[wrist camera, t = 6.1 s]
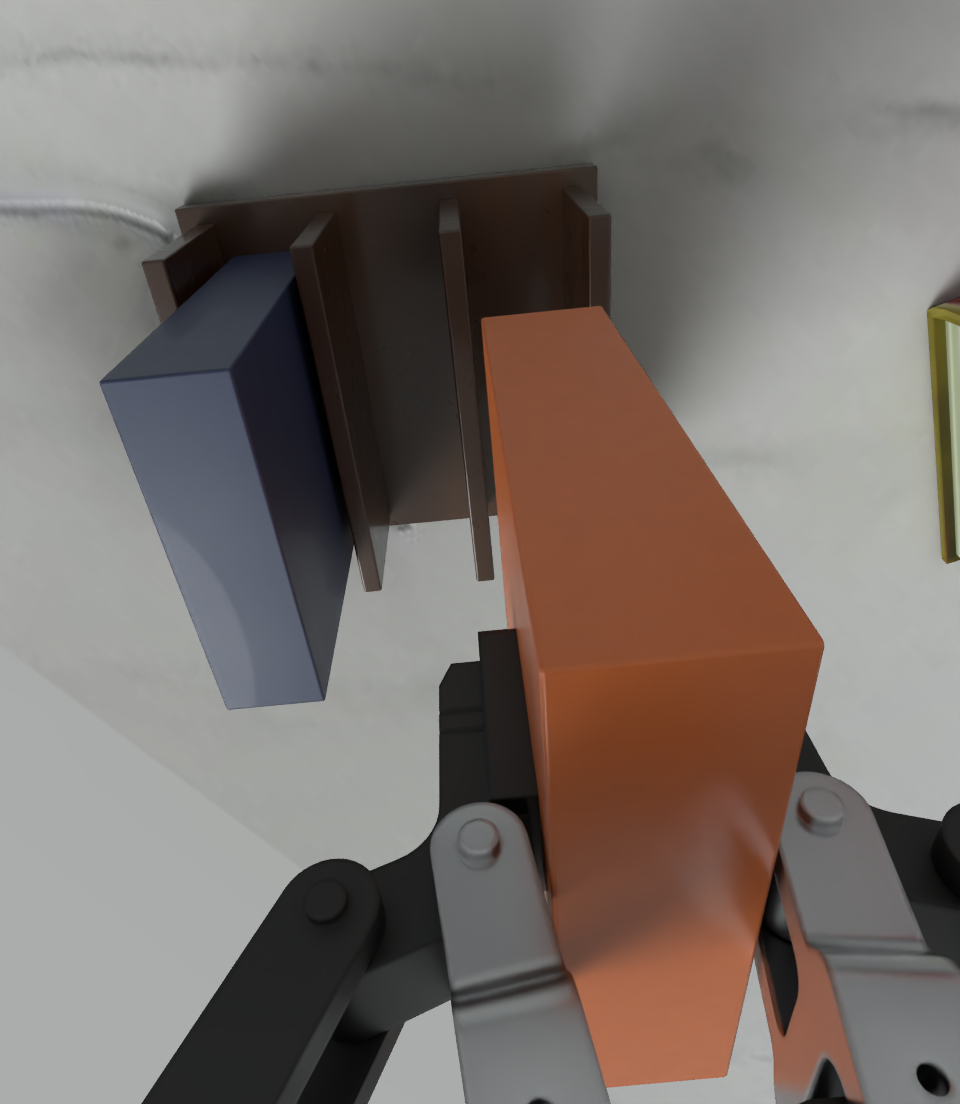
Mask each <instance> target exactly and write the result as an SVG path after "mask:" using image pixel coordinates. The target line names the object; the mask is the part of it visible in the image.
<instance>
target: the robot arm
mask: <svg viewBox="0 0 960 1104" xmlns="http://www.w3.org/2000/svg"><path fill="white" fill-rule="evenodd" d="M478 641H479V655H480V661H475V662H464V663H454V664H451V665H450V667H449V669H448V670H447V672H446V674H445V676H444V678H443V680H442V682H441V684H440V685H439V711H440V715H439V730H440V734H439V815H438V818H437V822H436V824H435V826H434V828H433V830H432V832H431V833H430V835H429V836H428V837H427V839H426V840H425V841H424V842H423V843H422V844H421V845H420V846H419V847H418V848H416V849H415V850H414V851H412V852H411V853H409V854H408V855H406V856H404V857H402V858H400V859H397V860H395V861H393V862H390V863H388V864H385V865H383V866H381V867H378V868H376V869H373V870H371V871H369V870H368V869H367V868H365V867H364V866H363V865H361V864H359V863H357V862H355V861H351V860H348V859H329V860H325V861H321V862H319V863H316V864H314V865H312V866H310V867H308V868H306V869H304V870H303V871H302V872H300V873H299V874H298V875H297V876H296V877H295V878H294V879H293V880H292V881H291V882H290V883H289V884H288V885H287V887H286V888H285V889H284V891H283V892H282V894H281V895H280V897H279V898H278V900H277V901H276V903H275V904H274V906H273V907H272V909H271V910H270V912H269V913H268V915H267V916H266V918H265V919H264V921H263V922H262V924H261V925H260V927H259V929H258V930H257V931H256V933H255V934H254V936H253V937H252V939H251V940H250V942H249V943H248V945H247V947H246V948H245V949H244V951H243V952H242V954H241V955H240V957H239V958H238V960H237V961H236V963H235V964H234V966H233V967H232V969H231V970H230V972H229V973H228V975H227V976H226V978H225V979H224V981H223V982H222V984H221V985H220V987H219V988H218V990H217V991H216V993H215V994H214V996H213V998H212V999H211V1000H210V1002H209V1003H208V1005H207V1006H206V1008H205V1009H204V1011H203V1012H202V1014H201V1015H200V1017H199V1018H198V1020H197V1021H196V1023H195V1024H194V1026H193V1027H192V1029H191V1030H190V1032H189V1033H188V1035H187V1036H186V1038H185V1039H184V1041H183V1042H182V1044H181V1045H180V1047H179V1048H178V1050H177V1051H176V1053H175V1054H174V1056H173V1057H172V1059H171V1060H170V1062H169V1063H168V1065H167V1066H166V1068H165V1069H164V1071H163V1072H162V1074H161V1075H160V1077H159V1078H158V1080H157V1081H156V1083H155V1084H154V1086H153V1087H152V1089H151V1090H150V1092H149V1093H148V1095H147V1096H146V1098H145V1099H144V1101H143V1102H142V1104H368V1102H369V1100H370V1097H371V1095H372V1093H373V1091H374V1089H375V1086H376V1084H377V1082H378V1080H379V1078H380V1076H381V1073H382V1071H383V1069H384V1067H385V1065H386V1062H387V1060H388V1058H389V1056H390V1054H391V1052H392V1049H393V1047H394V1045H395V1043H396V1040H397V1038H398V1036H399V1034H400V1032H401V1030H402V1028H403V1025H404V1023H405V1022H406V1021H407V1020H410V1019H412V1018H414V1017H416V1016H418V1015H420V1014H422V1013H424V1012H426V1011H428V1010H430V1009H433V1008H435V1007H437V1006H439V1005H441V1004H443V1003H445V1002H447V1001H449V1000H451V1005H452V1014H453V1020H454V1028H455V1034H456V1042H457V1048H458V1055H459V1062H460V1069H461V1076H462V1082H463V1089H464V1096H465V1103H466V1104H611V1103H610V1100H609V1096H608V1093H607V1089H606V1086H605V1082H604V1079H603V1075H602V1072H601V1068H600V1065H599V1061H598V1058H597V1054H596V1051H595V1048H594V1044H593V1041H592V1037H591V1034H590V1030H589V1027H588V1023H587V1020H586V1016H585V1013H584V1009H583V1006H582V1002H581V999H580V996H579V993H578V989H577V986H576V984H575V981H574V978H573V976H572V974H571V972H570V971H569V970H567V969H566V966H565V964H564V961H563V958H562V955H561V951H560V948H559V944H558V940H557V937H556V933H555V930H554V926H553V923H552V919H551V916H550V912H549V908H548V905H547V901H546V898H545V894H544V892H545V886H544V871H543V856H542V841H541V826H540V811H539V796H538V788H537V781H536V773H535V766H534V758H533V751H532V744H531V736H530V729H529V722H528V714H527V707H526V699H525V692H524V685H523V677H522V670H521V663H520V655H519V648H518V641H517V633H516V628H513V629H502V630H492V631H482V632H478ZM754 960H755V965H756V969H757V974H758V979H759V984H760V988H761V993H762V998H763V1003H764V1008H765V1012H766V1017H767V1022H768V1027H769V1031H770V1036H771V1042H772V1048H773V1058H774V1090H775V1100H776V1104H960V804H958V805H956V806H954V807H952V808H951V809H950V810H949V811H948V812H947V813H946V815H945V816H944V818H943V820H942V822H941V821H936V820H930V819H925V818H919V817H914V816H908V815H903V814H897V813H892V812H888V811H884V810H881V809H878V808H875V807H872V806H870V805H868V803H867V802H866V801H865V799H864V798H863V797H862V796H861V795H860V794H859V793H858V792H857V791H856V790H854V789H853V788H852V787H851V786H849V785H847V784H846V783H844V782H843V781H841V780H838V779H836V778H834V777H832V776H831V775H830V773H829V772H828V770H827V768H826V767H825V765H824V763H823V761H822V759H821V758H820V756H819V754H818V752H817V750H816V748H815V747H814V745H813V743H812V741H811V739H810V737H809V736H808V734H807V732H806V730H805V734H804V738H803V743H802V747H801V751H800V756H799V760H798V765H797V769H796V773H795V778H794V782H793V787H792V791H791V795H790V800H789V804H788V809H787V813H786V817H785V822H784V826H783V831H782V835H781V839H780V844H779V848H778V853H777V857H776V861H775V866H774V870H773V875H772V879H771V883H770V888H769V892H768V897H767V901H766V905H765V910H764V914H763V919H762V923H761V928H760V932H759V936H758V941H757V945H756V950H755V954H754Z"/></svg>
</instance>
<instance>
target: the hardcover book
mask: <svg viewBox="0 0 960 1104" xmlns="http://www.w3.org/2000/svg"><path fill="white" fill-rule="evenodd" d="M927 317H928V334H929V351H930V367H931V384H932V400H933V417H934V433H935V450H936V466H937V483H938V499H939V516H940V532H941V549H942V559H943V560H944V561H945V562H946V563H947V564H949V563H952V562H955V561H958V560H960V297H959V298H956V299H954V300H951V301H949V302H946V303H943V304H941V305H938V306H935V307H933V308H931V309H929V310H927Z"/></svg>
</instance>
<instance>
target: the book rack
mask: <svg viewBox="0 0 960 1104" xmlns="http://www.w3.org/2000/svg"><path fill="white" fill-rule="evenodd" d="M175 212H176V216H177V219H178V223H179V226H180V229H181V233H182V235H181V236H180V237H178V238H177V239H175V240H174V241H172V242H171V243H169V244H168V245H166V246H165V247H163V248H162V249H160V250H159V251H157V252H156V253H154V254H153V255H151V256H150V257H149V258H147V259H146V260H144V261H143V262H142V266H143V269H144V273H145V276H146V279H147V282H148V285H149V288H150V291H151V294H152V297H153V300H154V303H155V306H156V309H157V312H158V315H159V318H160V321H161V324H162V323H163V322H164V321H165V320H166V319H167V318H168V317H169V316H170V315H172V314H173V313H174V312H175V311H176V310H177V309H178V308H179V307H180V306H181V305H182V304H183V303H184V302H185V301H187V300H188V299H189V298H190V297H191V296H192V295H193V294H194V293H195V292H196V291H197V290H198V289H199V288H200V287H202V286H203V285H204V284H205V283H206V282H207V281H208V280H209V279H210V278H211V277H212V276H213V275H214V274H215V273H216V272H218V271H219V270H220V269H221V268H222V267H223V266H224V265H225V264H226V263H227V262H228V261H229V260H230V259H231V258H233V257H234V256H243V255H253V254H262V253H272V252H282V251H290V253H291V258H292V262H293V267H294V272H295V276H296V281H297V285H298V290H299V294H300V299H301V304H302V308H303V313H304V317H305V322H306V326H307V331H308V336H309V340H310V345H311V349H312V354H313V359H314V363H315V368H316V372H317V377H318V381H319V386H320V391H321V395H322V400H323V404H324V409H325V414H326V418H327V423H328V427H329V432H330V436H331V441H332V446H333V450H334V455H335V459H336V464H337V469H338V473H339V478H340V482H341V487H342V491H343V496H344V501H345V505H346V510H347V514H348V519H349V524H350V528H351V533H352V537H353V542H354V546H355V551H356V556H357V560H358V565H359V569H360V574H361V579H362V583H363V588H364V591H365V592H371V591H380V590H381V589H382V582H383V573H384V565H385V556H386V548H387V539H388V531H389V526H390V525H401V524H411V523H422V522H432V521H442V520H453V519H463V518H470V525H471V534H472V543H473V552H474V561H475V570H476V579H477V581H487V580H494V568H493V557H492V547H491V536H490V526H489V516H494V515H498V512H497V500H496V488H495V477H494V465H493V454H492V442H491V430H490V419H489V407H488V395H487V384H486V372H485V361H484V349H483V337H482V326H481V320H482V318H485V317H495V316H505V315H515V314H524V313H534V312H544V311H554V310H564V309H574V308H583V307H593V306H601V307H602V308H603V309H604V311H605V312H606V314H607V315H608V317H609V318H610V300H611V214H610V213H609V212H608V211H607V210H605V209H604V208H603V207H602V206H601V205H600V204H599V203H598V202H597V166H596V165H594V164H593V163H588V164H578V165H569V166H559V167H549V168H539V169H530V170H520V171H510V172H500V173H491V174H481V175H471V176H462V177H452V178H442V179H432V180H423V181H413V182H403V183H394V184H384V185H374V186H364V187H355V188H345V189H335V190H326V191H316V192H306V193H296V194H287V195H277V196H267V197H258V198H248V199H238V200H228V201H219V202H209V203H199V204H189V205H182V206H181V207H179V208H177V209H175Z"/></svg>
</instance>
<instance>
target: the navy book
mask: <svg viewBox="0 0 960 1104" xmlns="http://www.w3.org/2000/svg"><path fill="white" fill-rule="evenodd" d="M100 386H101V388H102V391H103V393H104V396H105V398H106V401H107V404H108V406H109V409H110V411H111V414H112V416H113V419H114V421H115V424H116V427H117V429H118V432H119V434H120V437H121V439H122V442H123V444H124V447H125V450H126V452H127V455H128V457H129V460H130V462H131V465H132V467H133V470H134V473H135V475H136V478H137V480H138V483H139V485H140V488H141V490H142V493H143V496H144V498H145V501H146V503H147V506H148V508H149V511H150V513H151V516H152V519H153V521H154V524H155V526H156V529H157V531H158V534H159V536H160V539H161V542H162V544H163V547H164V549H165V552H166V554H167V557H168V559H169V562H170V565H171V567H172V570H173V572H174V575H175V577H176V580H177V582H178V585H179V588H180V590H181V593H182V595H183V598H184V600H185V603H186V606H187V608H188V611H189V613H190V616H191V618H192V621H193V623H194V626H195V629H196V631H197V634H198V636H199V639H200V641H201V644H202V646H203V649H204V652H205V654H206V657H207V659H208V662H209V664H210V667H211V669H212V672H213V675H214V677H215V680H216V682H217V685H218V687H219V690H220V692H221V695H222V698H223V700H224V703H225V705H226V708H227V709H229V710H230V709H241V708H252V707H263V706H273V705H284V704H295V703H306V702H317V701H324V700H325V697H326V691H327V686H328V681H329V675H330V670H331V664H332V659H333V654H334V648H335V643H336V638H337V632H338V627H339V621H340V616H341V611H342V605H343V600H344V594H345V589H346V584H347V578H348V573H349V568H350V562H351V557H352V551H353V546H354V542H353V537H352V533H351V528H350V524H349V519H348V514H347V510H346V505H345V501H344V496H343V491H342V487H341V482H340V478H339V473H338V469H337V464H336V459H335V455H334V450H333V446H332V441H331V436H330V432H329V427H328V423H327V418H326V414H325V409H324V404H323V400H322V395H321V391H320V386H319V381H318V377H317V372H316V368H315V363H314V359H313V354H312V349H311V345H310V340H309V336H308V331H307V326H306V322H305V317H304V313H303V308H302V304H301V299H300V294H299V290H298V285H297V281H296V276H295V272H294V267H293V262H292V258H291V253H290V251H282V252H272V253H262V254H253V255H243V256H234V257H233V258H231V259H230V260H229V261H228V262H227V263H226V264H225V265H224V266H223V267H222V268H221V269H220V270H219V271H218V272H216V273H215V274H214V275H213V276H212V277H211V278H210V279H209V280H208V281H207V282H206V283H205V284H204V285H203V286H202V287H200V288H199V289H198V290H197V291H196V292H195V293H194V294H193V295H192V296H191V297H190V298H189V299H188V300H187V301H185V302H184V303H183V304H182V305H181V306H180V307H179V308H178V309H177V310H176V311H175V312H174V313H173V314H172V315H170V316H169V317H168V318H167V319H166V320H165V321H164V322H163V323H162V324H161V325H160V326H159V327H158V328H157V329H155V330H154V331H153V332H152V333H151V334H150V335H149V336H148V337H147V338H146V339H145V340H144V341H143V342H142V343H140V344H139V345H138V346H137V347H136V348H135V349H134V350H133V351H132V352H131V353H130V354H129V355H128V356H127V357H125V358H124V359H123V360H122V361H121V362H120V363H119V364H118V365H117V366H116V367H115V368H114V369H113V370H112V371H110V372H109V373H108V374H107V375H106V376H105V377H104V378H103V379H102V380H101V381H100Z"/></svg>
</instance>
